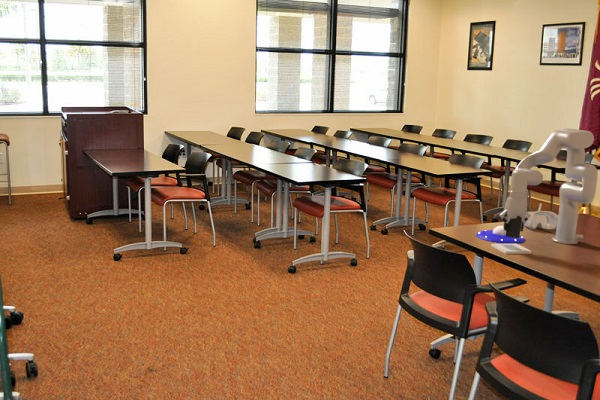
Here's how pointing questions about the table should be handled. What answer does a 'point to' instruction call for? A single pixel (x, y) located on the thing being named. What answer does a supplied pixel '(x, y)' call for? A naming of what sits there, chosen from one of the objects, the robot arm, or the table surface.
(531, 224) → the vr headset
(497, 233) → the toy spaceship
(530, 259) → the table surface
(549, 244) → the table surface
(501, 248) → the plate
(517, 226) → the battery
